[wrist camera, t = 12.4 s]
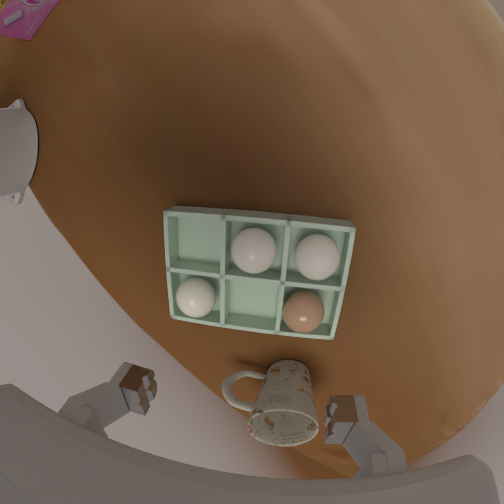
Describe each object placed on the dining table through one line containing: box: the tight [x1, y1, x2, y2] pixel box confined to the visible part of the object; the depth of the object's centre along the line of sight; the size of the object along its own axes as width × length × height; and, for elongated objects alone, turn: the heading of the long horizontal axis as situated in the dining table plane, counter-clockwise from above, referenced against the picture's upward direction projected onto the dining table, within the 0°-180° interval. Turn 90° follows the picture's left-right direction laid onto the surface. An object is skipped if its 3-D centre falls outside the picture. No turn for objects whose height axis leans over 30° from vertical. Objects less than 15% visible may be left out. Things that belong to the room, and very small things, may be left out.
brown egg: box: [282, 291, 325, 333], centre depth 29 cm, size 5×5×5 cm
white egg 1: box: [176, 277, 216, 318], centre depth 31 cm, size 5×5×5 cm
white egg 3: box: [294, 234, 340, 280], centre depth 27 cm, size 5×5×5 cm
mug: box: [222, 360, 319, 446], centre depth 32 cm, size 8×13×10 cm, turn 78°
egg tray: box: [163, 206, 356, 340], centre depth 30 cm, size 19×13×3 cm
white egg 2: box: [231, 227, 277, 274], centre depth 28 cm, size 5×5×5 cm
